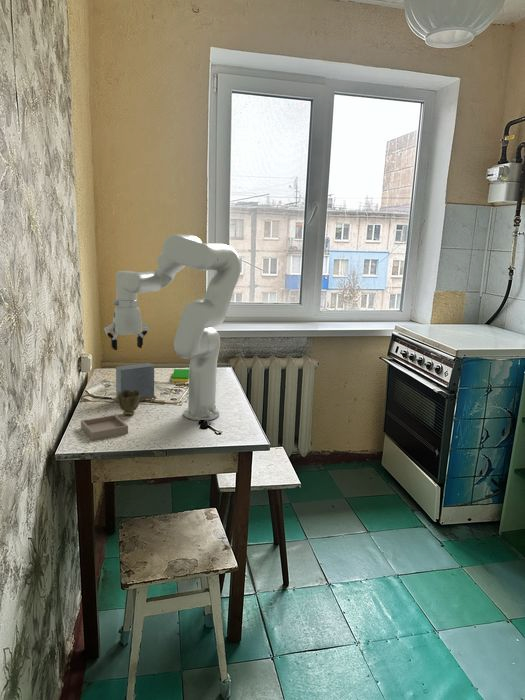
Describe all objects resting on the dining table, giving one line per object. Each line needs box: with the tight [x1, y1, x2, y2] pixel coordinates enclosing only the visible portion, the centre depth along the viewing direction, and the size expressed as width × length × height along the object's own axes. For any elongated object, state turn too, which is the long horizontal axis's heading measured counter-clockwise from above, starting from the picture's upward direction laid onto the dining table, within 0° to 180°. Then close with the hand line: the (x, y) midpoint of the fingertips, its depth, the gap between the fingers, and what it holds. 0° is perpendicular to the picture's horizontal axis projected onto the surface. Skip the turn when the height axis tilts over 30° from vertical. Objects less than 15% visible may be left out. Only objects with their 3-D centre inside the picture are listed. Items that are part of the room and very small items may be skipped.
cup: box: [118, 390, 140, 417], centre depth 167 cm, size 8×7×8 cm
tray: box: [80, 414, 129, 441], centre depth 153 cm, size 11×11×2 cm
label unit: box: [114, 362, 157, 404], centre depth 182 cm, size 6×14×13 cm, turn 126°
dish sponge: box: [171, 368, 189, 383], centre depth 216 cm, size 7×14×2 cm, turn 6°
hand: (127, 348), depth 186 cm, fingers open, 9 cm apart
